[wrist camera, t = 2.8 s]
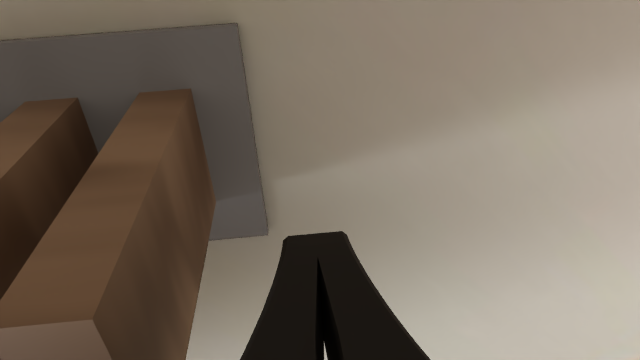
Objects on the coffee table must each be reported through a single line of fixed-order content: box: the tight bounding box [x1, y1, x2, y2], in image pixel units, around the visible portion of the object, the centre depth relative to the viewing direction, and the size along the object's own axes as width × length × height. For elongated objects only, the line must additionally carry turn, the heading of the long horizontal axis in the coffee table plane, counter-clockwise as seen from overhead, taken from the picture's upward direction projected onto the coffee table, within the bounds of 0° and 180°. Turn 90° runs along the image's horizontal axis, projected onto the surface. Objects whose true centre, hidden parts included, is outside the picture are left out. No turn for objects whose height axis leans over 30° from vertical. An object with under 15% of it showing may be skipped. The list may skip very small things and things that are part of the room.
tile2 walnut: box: [0, 98, 98, 360], centre depth 11 cm, size 4×2×9 cm, turn 3°
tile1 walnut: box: [0, 89, 216, 360], centre depth 12 cm, size 4×2×9 cm, turn 3°
